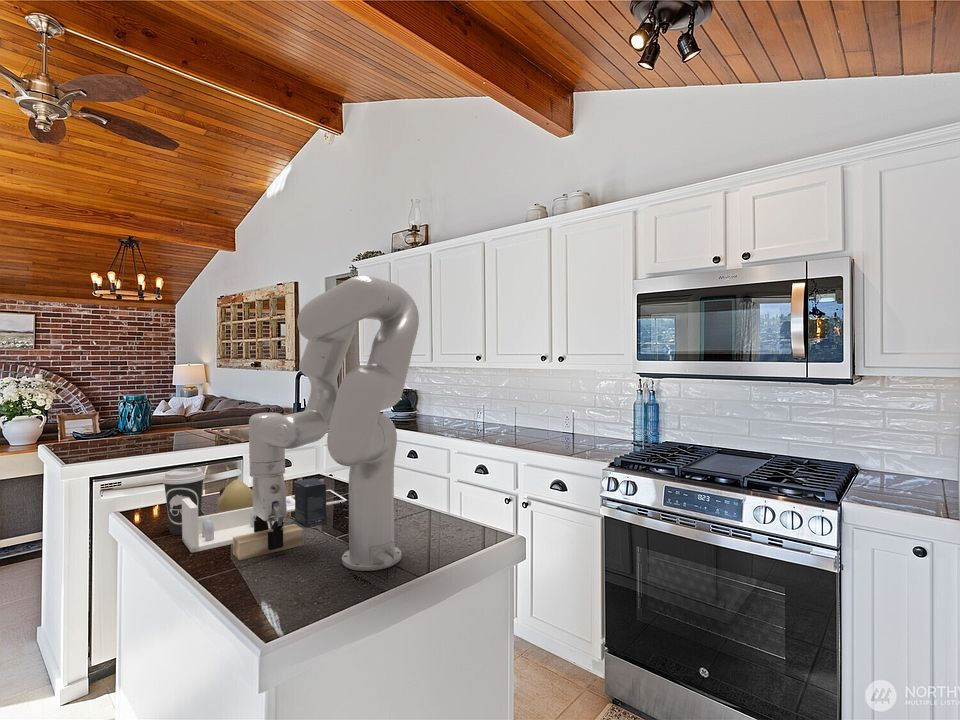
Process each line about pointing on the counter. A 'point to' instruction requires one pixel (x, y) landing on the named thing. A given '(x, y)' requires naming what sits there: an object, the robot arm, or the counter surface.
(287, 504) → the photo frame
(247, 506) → the tan rounded triangle
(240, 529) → the peg frame
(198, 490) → the coffee cup
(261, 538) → the oak board
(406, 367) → the robot arm
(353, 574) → the counter surface
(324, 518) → the box
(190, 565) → the counter surface
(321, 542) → the counter surface
